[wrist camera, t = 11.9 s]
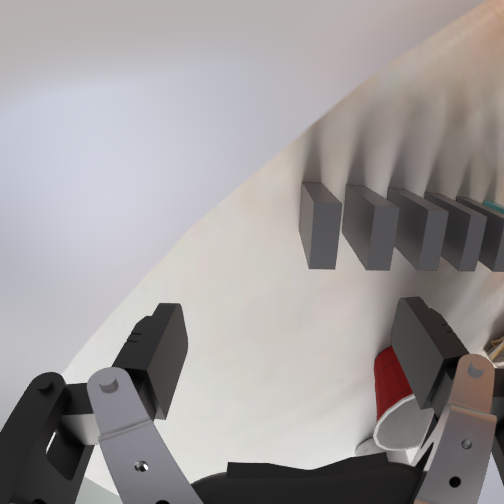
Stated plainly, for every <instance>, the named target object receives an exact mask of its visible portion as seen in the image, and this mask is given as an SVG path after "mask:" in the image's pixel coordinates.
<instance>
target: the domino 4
mask: <svg viewBox="0 0 504 504" xmlns="http://www.w3.org/2000/svg"><path fill="white" fill-rule="evenodd" d="M424 199H426V200H428V201H429V202H431V203H433V204H435V205H437V206H439V207H441V208H443V209H445V210H446V211H448V212H449V213H448V219H447V225H446V231H445V236H444V241H443V246H442V250H441V256H442V257H443V258H444V259H446V260H447V261H448V262H449V263H450V264H451V265H452V266H454V267H455V268H456V269H457V270H458V271H475V268H476V265H477V261H478V257H479V253H480V249H481V244H482V240H483V235H484V231H485V226H486V221H487V216H485V215H483V214H481V213H479V212H477V211H475V210H473V209H471V208H469V207H467V206H465V205H463V204H461V203H459V202H456V201H454V200H452V199H450V198H448V197H446V196H444V195H441V194H438V193H430V192H425V195H424Z"/></svg>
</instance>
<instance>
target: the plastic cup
mask: <svg viewBox="0 0 504 504" xmlns="http://www.w3.org/2000/svg"><path fill="white" fill-rule="evenodd" d="M374 376H375V392H376V404H377V422H376V426H375V430H374V433H373V438H374V440H375V442H376V445H377V446H379V447H381V448H383V449H385V450H393V451H402V450H407V449H411V448H416V447H418V446H420V444H421V441H422V439H423V437H424V434H425V432H426V429H427V427H428V424H429V421H430V419H431V416H432V414H433V413H434V410H433V408H428V409H423V410H420V407H419V405H418V403H417V400H416V398H415V396H414V393H413V391H412V389H411V387H410V384H409V382H408V380H407V378H406V375H405V373H404V371H403V369H402V367H401V364H400V362H399V360H398V358H397V356H396V354H395V352H394V350H393V347H392V346H390V347H388V348H386V349H385V350H383V351H382V352H381V353H380V354H379V355H378V357H377V358H376V360H375V364H374Z"/></svg>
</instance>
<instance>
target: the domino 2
mask: <svg viewBox="0 0 504 504" xmlns="http://www.w3.org/2000/svg"><path fill="white" fill-rule="evenodd" d="M398 216H399V207H397V206H396V205H394V204H393V203H391V202H390V201H388V200H387V199H385V198H384V197H382V196H380V195H379V194H377V193H376V192H374V191H372V190H371V189H369V188H368V187H366V186H358V185H346V193H345V206H344V217H343V227H342V234H343V235H344V237H345V238H346V240H347V241H348V243H349V244H350V246H351V247H352V249H353V250H354V252H355V254H356V255H357V257H358V258H359V260H360V261H361V263H362V265H363V266H364V268H365V269H366V270H385V271H389V270H390V265H391V260H392V254H393V248H394V242H395V236H396V230H397V223H398Z"/></svg>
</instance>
